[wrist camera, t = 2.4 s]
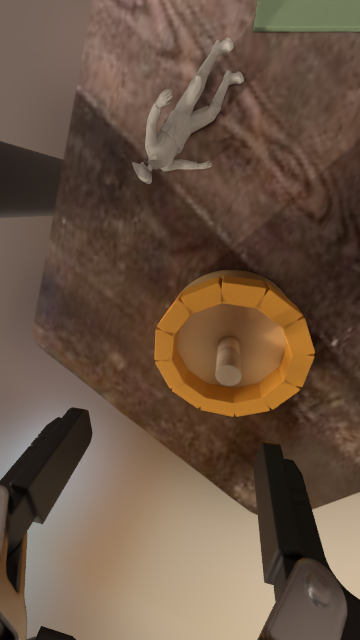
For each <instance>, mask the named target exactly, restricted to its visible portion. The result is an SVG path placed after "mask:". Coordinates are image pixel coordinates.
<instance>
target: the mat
mask: <svg viewBox="0 0 360 640" xmlns="http://www.w3.org/2000/svg"><path fill="white" fill-rule="evenodd" d="M253 31H254V32H360V0H258V3H257V9H256V16H255V22H254V29H253Z"/></svg>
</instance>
